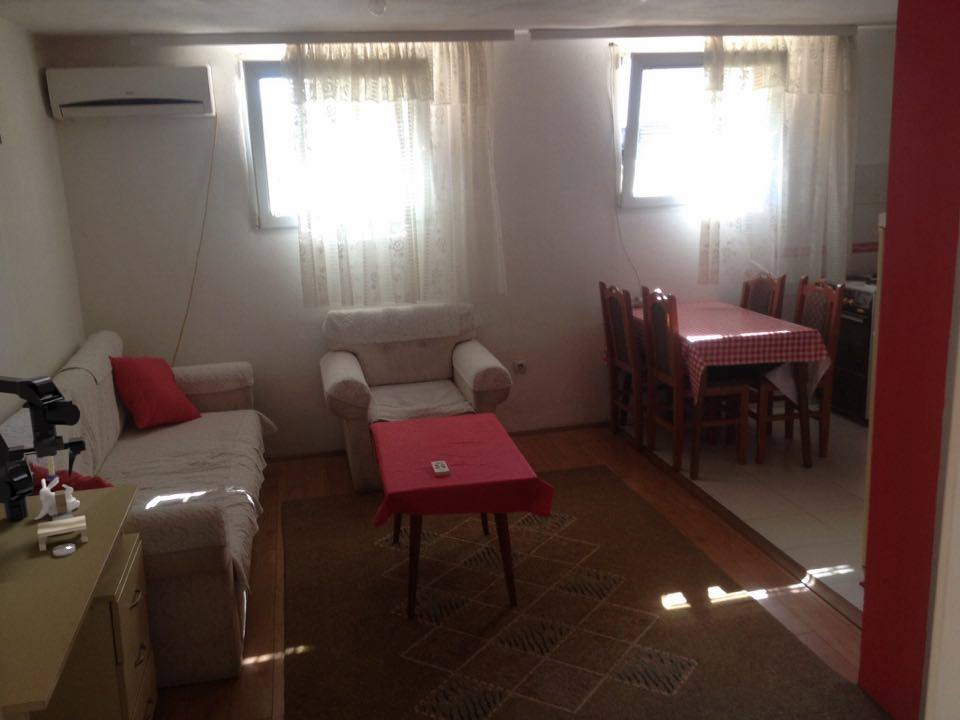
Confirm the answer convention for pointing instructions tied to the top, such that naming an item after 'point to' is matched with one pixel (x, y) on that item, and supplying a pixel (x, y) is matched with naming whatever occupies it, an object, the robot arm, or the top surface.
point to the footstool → (61, 529)
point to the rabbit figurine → (49, 499)
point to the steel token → (64, 550)
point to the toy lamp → (51, 469)
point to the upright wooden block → (61, 507)
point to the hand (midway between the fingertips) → (51, 479)
